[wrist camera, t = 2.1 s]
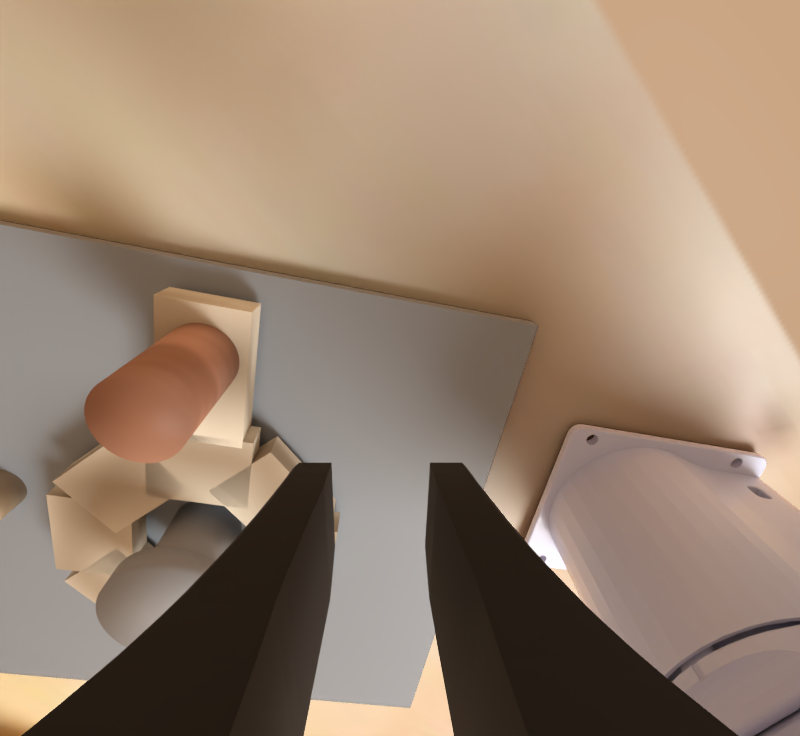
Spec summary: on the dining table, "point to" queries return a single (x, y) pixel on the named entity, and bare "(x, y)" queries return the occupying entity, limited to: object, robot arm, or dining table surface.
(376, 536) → the post board
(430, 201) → the dining table surface
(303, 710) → the robot arm
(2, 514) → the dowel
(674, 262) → the dining table surface
